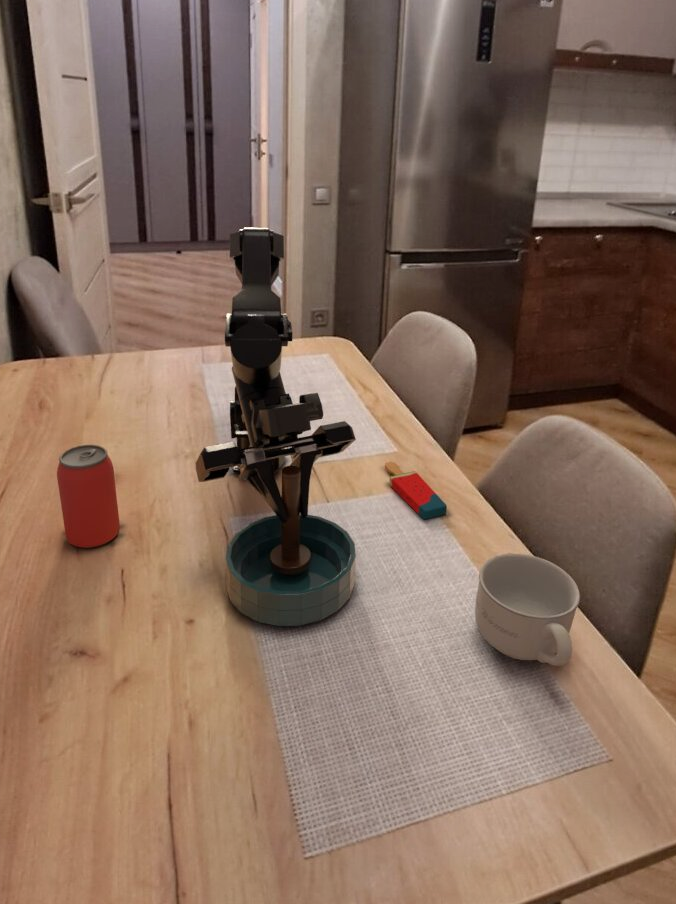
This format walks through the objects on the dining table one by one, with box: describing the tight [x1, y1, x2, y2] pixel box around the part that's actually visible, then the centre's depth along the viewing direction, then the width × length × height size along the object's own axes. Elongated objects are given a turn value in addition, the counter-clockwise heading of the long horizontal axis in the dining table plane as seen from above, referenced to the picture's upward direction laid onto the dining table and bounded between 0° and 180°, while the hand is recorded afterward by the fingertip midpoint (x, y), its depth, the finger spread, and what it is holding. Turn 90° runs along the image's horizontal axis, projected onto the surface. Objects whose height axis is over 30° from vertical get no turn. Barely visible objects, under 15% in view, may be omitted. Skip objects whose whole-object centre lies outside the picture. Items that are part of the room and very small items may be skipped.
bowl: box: [224, 513, 357, 627], centre depth 80 cm, size 15×15×5 cm
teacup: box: [474, 552, 581, 667], centre depth 72 cm, size 14×11×8 cm
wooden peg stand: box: [270, 465, 311, 575], centre depth 80 cm, size 5×5×13 cm
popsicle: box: [384, 461, 448, 520], centre depth 102 cm, size 5×2×15 cm
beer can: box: [56, 444, 121, 549], centre depth 85 cm, size 7×7×12 cm
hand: (294, 519), depth 78 cm, fingers closed on wooden peg stand, 2 cm apart
